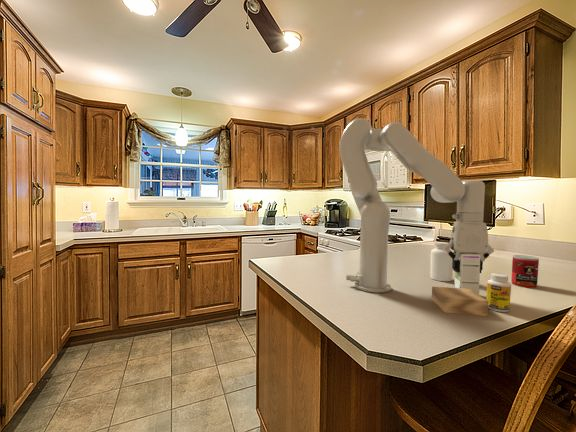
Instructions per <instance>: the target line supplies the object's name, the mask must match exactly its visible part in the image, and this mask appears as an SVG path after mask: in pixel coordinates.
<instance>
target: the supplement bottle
mask: <svg viewBox="0 0 576 432" xmlns="http://www.w3.org/2000/svg"><path fill="white" fill-rule="evenodd" d="M486 283H487V284H486V296H485V297H486V298H485V299H486V300H488V310H490V311H491V310H492V311H494V312H498V313H508V312H509V311H510V310H511V309H510V306H511V294H512V283H510V282H509V275H507V274H504V273H497V272H496V273H495V272H492V273H491V274H490V279H488V280H487V282H486Z"/></svg>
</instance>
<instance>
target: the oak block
mask: <svg viewBox="0 0 576 432" xmlns="http://www.w3.org/2000/svg"><path fill="white" fill-rule="evenodd" d="M431 300H432V301H433V302H434V303H435V304H436V306H437V307H439V308H440V310H441V311H442V312H443V313H447V314H461V315H473V316H484V317H488V316H489V314H488V313H489V308H488V300H486V298H485V297H483V296H482V295H480V293H479V294H477V293H476V292H474V291H472V290H471V289H463V288H454V287H445V286H431Z"/></svg>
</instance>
